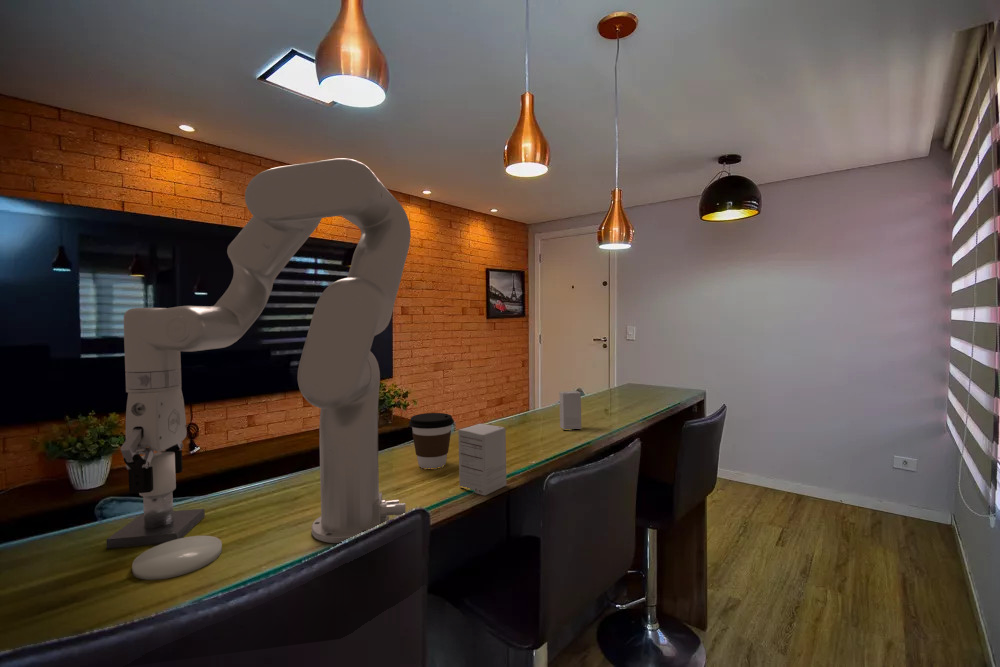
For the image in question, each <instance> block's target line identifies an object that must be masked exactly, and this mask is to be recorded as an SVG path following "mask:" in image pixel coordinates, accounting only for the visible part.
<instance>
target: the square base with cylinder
mask: <svg viewBox="0 0 1000 667" xmlns="http://www.w3.org/2000/svg"><path fill="white" fill-rule="evenodd" d="M173 492H174V491H171V492H168V493H165V494H161V495H157V496H142V498H143V500H142V501H143V505H142V506H143V512H142V513H141V514H140V515H139V516H137V517H136V518H134V519H133V520H131V521H130V522H129V523H127V524H126V525H124V526H123V527H122V528H120V529H118V531H115V533H113V534H112V535H110V536H109V537H107V538H106V541H105V542H106V549H116V548H119V549H120V548H129V547H141V546H142V547H143V546H152V545H154V546H155V545H160V544H163V543H166V542H169V541H172V540H176V539H180V538H184V537H185V536H186V535H187V534H188V533H189V532H190V531H191V530H192V529H193V528H194V527H195V526H196V525H197V524H199V523H200V522H201V521H202V520H203V519H204V518H205V517H206V516H205V508H195V509H193V508H192V509H181V510H174V497H173V495H174V494H173Z"/></svg>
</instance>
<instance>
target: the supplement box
mask: <svg viewBox="0 0 1000 667" xmlns="http://www.w3.org/2000/svg"><path fill="white" fill-rule="evenodd" d="M506 434H507V433H506V427H503V426H499V425H491V424H485V423H478V424H474V425H470V426H468V427H464V428H463V427H462V428H460V429H458V464H459V465H458V468H459V470H458V472H459V473H458V474H459V476H458V477H459V478H458V479H459V487H460V486H463V487H467V488H470V489H472V490H474V491H475V493H474V494H477V495H481V496H487V495H490V494H491V493H494V492H496V491H497V490H500V489H502V488H504V487H506V486H507V448H506V447H507V445H506V444H507V440H506V436H507V435H506Z"/></svg>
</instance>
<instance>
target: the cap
mask: <svg viewBox="0 0 1000 667" xmlns="http://www.w3.org/2000/svg"><path fill="white" fill-rule="evenodd" d="M140 456H141V455H140ZM141 457H142V458H143V459H144V457H145V454H142V456H141ZM151 466H153V491H151V492H147V493H138V495H139V496H140V497H143V496H157V495H161V494H165V493H168V492H171V491H172V492H174V491H175V490H176V489H177V483H176V482H177V480H176V479H177V478H176V477H177V476H176V473H175V453H174V452H162V451H161V452H154V454H153V457H152V460H151V463H150V466H149V467H151Z"/></svg>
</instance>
